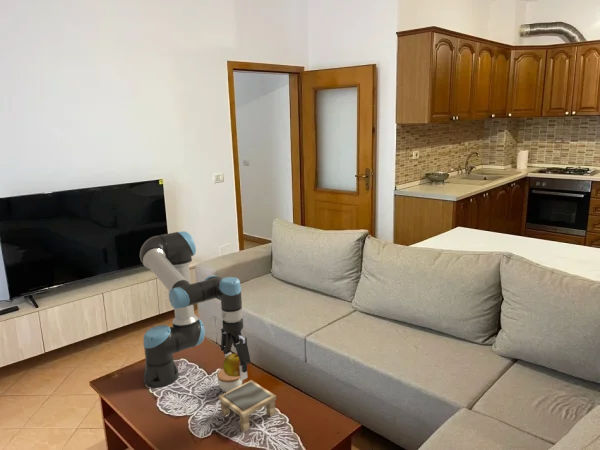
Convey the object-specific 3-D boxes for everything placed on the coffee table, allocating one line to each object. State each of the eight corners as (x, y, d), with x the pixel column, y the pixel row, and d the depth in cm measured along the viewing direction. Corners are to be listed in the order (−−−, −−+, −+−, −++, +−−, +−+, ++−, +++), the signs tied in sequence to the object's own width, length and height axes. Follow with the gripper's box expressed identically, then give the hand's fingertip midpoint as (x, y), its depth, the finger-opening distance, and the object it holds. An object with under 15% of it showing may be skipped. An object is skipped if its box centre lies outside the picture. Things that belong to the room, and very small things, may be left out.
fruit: (246, 366, 181) (245, 348, 179) (251, 378, 172) (249, 358, 170) (222, 371, 178) (220, 352, 176) (225, 383, 169) (224, 363, 168)
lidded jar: (238, 397, 191) (237, 377, 189) (214, 395, 193) (213, 375, 191) (246, 383, 201) (245, 364, 199) (223, 381, 203) (222, 362, 201)
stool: (219, 414, 180) (218, 395, 178) (252, 397, 191) (251, 379, 189) (244, 433, 169) (242, 413, 167) (277, 414, 180) (276, 395, 178)
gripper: (208, 313, 176) (213, 367, 181) (240, 331, 160) (244, 389, 164) (225, 308, 181) (229, 360, 185) (258, 324, 164) (261, 381, 169)
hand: (236, 373), depth 175 cm, fingers closed on fruit, 9 cm apart
